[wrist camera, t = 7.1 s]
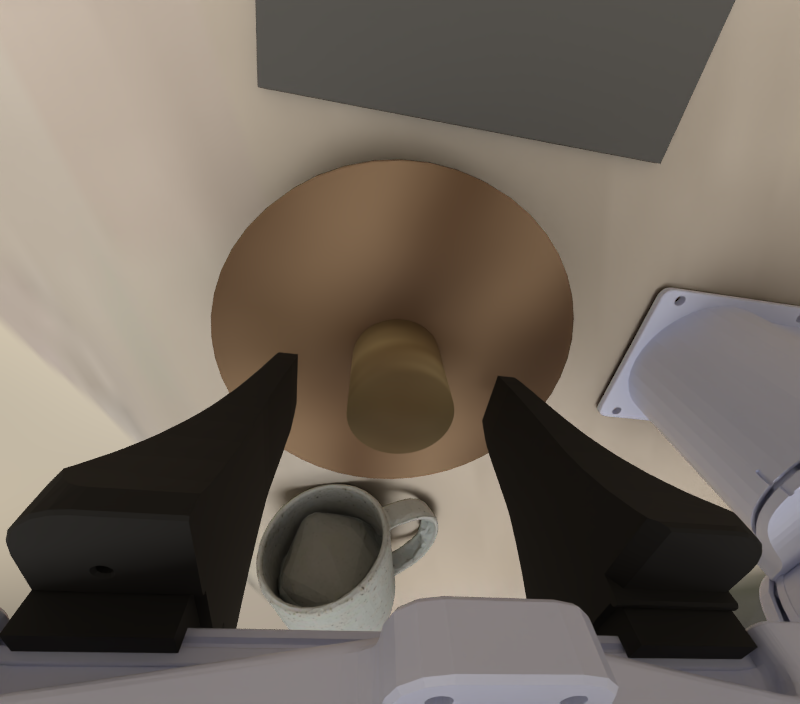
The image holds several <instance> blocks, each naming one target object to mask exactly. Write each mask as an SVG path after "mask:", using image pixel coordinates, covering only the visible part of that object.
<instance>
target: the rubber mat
mask: <svg viewBox="0 0 800 704" xmlns="http://www.w3.org/2000/svg"><path fill="white" fill-rule="evenodd" d="M734 2H735V0H256V39H257V79H258V87H260V88H265V89H271V90H276V91H281V92H286V93H292V94H297V95H302V96H307V97H313V98H318V99H323V100H328V101H334V102H339V103H344V104H349V105H355V106H360V107H365V108H370V109H376V110H381V111H386V112H391V113H396V114H402V115H407V116H412V117H417V118H423V119H428V120H433V121H438V122H444V123H449V124H454V125H459V126H465V127H470V128H475V129H480V130H486V131H491V132H496V133H501V134H507V135H512V136H517V137H522V138H528V139H533V140H538V141H543V142H548V143H554V144H559V145H564V146H569V147H575V148H580V149H585V150H590V151H596V152H601V153H606V154H611V155H617V156H622V157H627V158H632V159H638V160H643V161H648V162H653V163H660V164H661V161H662V159H663V157H664V155H665V153H666V151H667V148H668V146H669V144H670V142H671V140H672V137H673V135H674V133H675V131H676V129H677V127H678V124H679V122H680V120H681V118H682V116H683V113H684V111H685V109H686V107H687V105H688V103H689V100H690V98H691V96H692V94H693V92H694V89H695V87H696V85H697V83H698V81H699V78H700V76H701V74H702V72H703V70H704V68H705V65H706V63H707V61H708V59H709V57H710V54H711V52H712V50H713V48H714V46H715V44H716V41H717V39H718V37H719V35H720V33H721V30H722V28H723V26H724V24H725V22H726V20H727V17H728V15H729V13H730V11H731V9H732V6H733V4H734Z"/></svg>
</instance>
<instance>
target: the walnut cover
mask: <svg viewBox="0 0 800 704" xmlns="http://www.w3.org/2000/svg"><path fill="white" fill-rule="evenodd" d="M573 320H574V316H573V301H572V294H571V289H570V285H569V281H568V276H567V274H566V271H565V269H564V266H563V264H562V261H561V259H560V256H559V254H558V252H557V251H556V249H555V247H554V246H553V244H552V242H551V241H550V239H549V237H548V236H547V234H546V233H545V232H544V231H543V229H542V228H541V227H540V226H539V225H538V223H537V222H536V221H535V220H534V219H533V218H532V216H531V215H530V214H529V213H527V212H526V211H525V210H524V209H523V208H522V207H520V206H519V205H518V204H517V203H516V202H515V201H514V200H512V199H511V198H510V197H508V196H507V195H505V194H503V193H502V192H500V191H499V190H497V189H495V188H494V187H492V186H490V185H489V184H487V183H485V182H484V181H482V180H480V179H477V178H475V177H473V176H470V175H468V174H466V173H463V172H461V171H459V170H456V169H453V168H449V167H445V166H441V165H437V164H433V163H430V162H421V161H411V160H402V159H399V160H375V161H368V162H363V163H357V164H352V165H347V166H343V167H340V168H337V169H334V170H331V171H329V172H326V173H323V174H320V175H317V176H316V177H314V178H312V179H310V180H308V181H306V182H304V183H302V184H300V185H298V186H296V187H295V188H293V189H292V190H290V191H289V192H288V193H286V194H285V195H284V196H282V197H281V198H279V199H278V200H277V201H275V202H274V203H273V204H271V205H270V206H269V207H267V208H266V209H265V210H264V211H263V212H262V213H261V214H260V215H259V216H258V217H257V218H256V219H255V220H254V221H253V222H252V223H251V224H250V225H249V226H248V227H247V229H246V230H245V231H244V233H243V234H242V236H241V237H240V238H239V240H238V241H237V243H236V244H235V245H234V247H233V248H232V250H231V252H230V254H229V256H228V258H227V260H226V262H225V264H224V266H223V268H222V270H221V273H220V276H219V279H218V282H217V286H216V289H215V292H214V298H213V305H212V312H211V337H212V343H213V348H214V354H215V359H216V362H217V365H218V368H219V371H220V374H221V377H222V379H223V381H224V383H225V385H226V387H227V389H228V391H229V393H230V392H232V391H233V390H234V389H236V388H237V387H238V386H240V385H241V384H242V383H243V382H245V381H246V380H247V379H248V378H249V377H251V376H252V375H253V374H254V373H255V372H257V371H258V370H259V369H260V368H261V367H262V366H263V365H264V364H266V363H267V362H268V361H269V360H270V359H271V358H272V357H273V356H274V355H276V354H277V353H278V352H282V353H291V354H298V372H297V404H296V409H295V414H294V418H293V423H292V427H291V431H290V434H289V437H288V439H287V442H286V445H285V448H284V450H286V451H288V452H289V453H291V454H293V455H295V456H297V457H298V458H300V459H302V460H305V461H307V462H309V463H312V464H314V465H316V466H319V467H322V468H325V469H328V470H331V471H335V472H338V473H343V474H348V475H352V476H358V477H367V478H381V479H397V478H412V477H418V476H425V475H431V474H435V473H439V472H443V471H447V470H450V469H453V468H456V467H458V466H461V465H464V464H467V463H469V462H471V461H473V460H475V459H478V458H480V457H482V456H484V455H485V454H487V453H489V452H488V449H487V446H486V441H485V436H484V430H483V424H482V419H483V416H484V414H485V411H486V408H487V405H488V402H489V399H490V396H491V394H492V391H493V388H494V385H495V382H496V379H497V377H498V376H505V377H515V378H516V379H517V380H519V381H520V382H521V383H523V384H524V385H525V386H526V387H528V388H529V389H530V390H531V391H532V392H534V393H535V394H536V395H537V396H538V397H539V398H541V399H542V400H543V401H544V402H546V400H547V399H548V398H549V396H550V395H551V393H552V391H553V390H554V388H555V386H556V384H557V382H558V380H559V378H560V377H561V374H562V371H563V369H564V366H565V363H566V361H567V358H568V354H569V349H570V345H571V341H572V332H573Z"/></svg>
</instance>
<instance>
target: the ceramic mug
mask: <svg viewBox="0 0 800 704" xmlns="http://www.w3.org/2000/svg"><path fill="white" fill-rule="evenodd" d="M414 520H421V524H420V527H419V529H418V530H419V531H418V532H417V534H416V535H415V536H414V537H413V538H412V539H411V540H409V541H408V542H407V543H405V544H404V545H403V546H401V547H400V548H399V549H397V550H395V551H393V552H392V549H391V538H390V531H391V530H392V529H393V528H395V527H396V526H398V525H400V524H404V523H408V522H410V521H414ZM437 532H438V522H437V519H436V516H435V515H434V514H433V512H432V511H431V510H430V508H429V507H428V505H427V504H426V503H425V502H424V501H422V500H419V499H411V498H409V499H404V500H400V501H397V502H394V503H390V504H388V505H385V506H383V507H382V506H381V505H380V503H379V502H378V501H377V500H376V499H375V498H374V497H373V496H372V495H371V494H369V493H368V492H366V491H365V490H363V489H360V488H358V487H356V486H351V485H346V484H328V485H322V486H317V487H314V488H312V489H309V490H307V491H305V492H302V493H301V494H299V495H297V496H296V497H294V498H293V499H291V500H290V501H289V502H287V503H286V504H285V505H284V506H283V507H282V508H281V509H280V510H279V511H278V512H277V513H276V515H275V516H274V517H273V519H272V520H271V521H270V523H269V525H268V526H267V528H266V530H265V532H264V534H263V536H262V539H261V542H260V545H259V550H258V554H257V560H256V568H257V577H258V581H259V585H260V588H261V591H262V593H263V595H264V596H265V598H266V599H267V601H268V602H269V603H270V605H271V606H272V607H273V608H274V609H275V611H276V612H277V614H278V615H279V616H280V618H281V619H282V621H283V622H284V623H285V625H286V626H287V627H288V629H289V630H328V631H381V630H382V627H383V624H384V623H385V622H386V621H387V619H388V618H389V616H390V613H391V610H392V606H393V601H394V596H395V577H394V576H395V575H397V574H399V573H400V572H402V571H404V570H405V569H407V568H408V567H410V566H412V565H413V564H414V563H416V562H417V561H418V560H419V559H420V558H422V557H423V556H424V555H425V554H426V552H427V551H428V550H429V549H430V547H431V546H432V544H433V543H434V541H435V538H436V536H437Z"/></svg>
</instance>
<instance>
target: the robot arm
mask: <svg viewBox="0 0 800 704" xmlns="http://www.w3.org/2000/svg"><path fill="white" fill-rule="evenodd" d="M678 297H680V298H679V300H678V301H676V302H675V300H676V299H677V298H678ZM297 372H298V354H291V353H282V352H278V353H277V354H276V355H274V356H273V357H272V358H271V359H270V360H269V361H268V362H267V363H266V364H264V365H263V366H262V367H261V368H260V369H259V370H258V371H257V372H255V373H254V374H253V375H252V376H251V377H249V378H248V379H247V380H246V381H245V382H243V383H242V384H241V385H240V386H238V387H237V388H236V389H234V390H233V391H232V392H230V393H229V394H228V395H226V396H225V397H223V398H222V399H221V400H219V401H218V402H216V403H215V404H213V405H212V406H210V407H209V408H207V409H205V410H204V411H202V412H200V413H199V414H197V415H195V416H193V417H192V418H190V419H188V420H186V421H184V422H182V423H180V424H178V425H176V426H174V427H172V428H170V429H168V430H166V431H164V432H162V433H160V434H158V435H155V436H153V437H151V438H148V439H146V440H144V441H141V442H139V443H136V444H134V445H131V446H129V447H126V448H124V449H121V450H118V451H116V452H113V453H110V454H107V455H104V456H101V457H98V458H95V459H92V460H89V461H86V462H83V463H80V464H77V465H74V466H71V467H68V468H64V469H63V470H62V471H61V472H60V473H59V474H58V475H57V476H56V477H55V478H54V479H53V480H52V481H51V482H50V483H49V484H48V485H47V486H46V487H45V488H44V489H43V490H42V492H41V493H40V494H39V495H38V496H37V497H36V498H35V499H34V501H33V502H32V503H31V504H30V505H29V506H28V507H27V508H26V509H25V511H24V512H23V513H22V514H21V515H20V516H19V517H18V519H17V520H16V521H15V522H14V523H13V524H12V526H11V527H10V528H9V529H8V531H7V537H6V543H7V546H8V549H9V552H10V554H11V556H12V558H13V560H14V561H15V563H16V564H17V566H18V568H19V570H20V571H21V573H22V574H23V576H24V578H25V579H26V581H27V583H28V584H29V586H30V587H31V589H32V591H31V592H30V593H29V595H28V596H27V597H26V599H25V600H24V601H23V603H22V604H21V605H20V607H19V608H18V610H17V611H16V612H15V614H14V615H13V616H12V618H11V619H10V620H9V618H8V615H7V614H6V612H5V611H4V610H3V609H2V608H0V704H800V306H795V305H788V304H781V303H775V302H768V301H761V300H754V299H747V298H740V297H734V296H727V295H720V294H713V293H706V292H699V291H693V290H686V289H679V288H672V287H670V288H665V289H663V290H662V291H661V292H660V293H659V294H658V295H657V297H656V299H655V301H654V303H653V304H652V306H651V308H650V310H649V312H648V314H647V315H646V317H645V319H644V321H643V323H642V325H641V327H640V328H639V330H638V332H637V334H636V336H635V338H634V340H633V341H632V343H631V345H630V347H629V349H628V351H627V353H626V354H625V356H624V358H623V360H622V362H621V364H620V366H619V367H618V369H617V371H616V373H615V375H614V377H613V378H612V380H611V382H610V384H609V386H608V388H607V390H606V391H605V393H604V395H603V397H602V399H601V401H600V403H599V404H598V407H597V409H598V411H599V413H600V414H601V415H603V416H610V417H620V418H630V419H640V420H650V421H651V422H652V423H653V424H654V426H655V427H656V428H657V429H658V430H659V431H660V432H661V433H662V434H663V435H664V436H665V438H666V439H667V440H668V441H669V442H670V443H671V444H672V445H673V446H674V447H675V448H676V450H677V451H678V452H679V453H680V454H681V455H682V456H683V457H684V458H685V459H686V461H687V462H688V463H689V464H690V465H691V466H692V467H693V468H694V469H695V470H696V471H697V473H698V474H699V475H700V476H701V477H702V478H703V479H704V480H705V481H706V482H707V484H708V485H709V486H710V487H711V488H712V489H713V490H714V491H715V492H716V493H717V494H718V496H719V497H720V498H721V499H722V500H723V501H724V502H725V503H726V504H727V505H728V506H729V508H730V509H731V510H732V511H733V512H732V511H729V510H727V509H724V508H722V507H720V506H717V505H715V504H712V503H710V502H708V501H705V500H703V499H701V498H698V497H696V496H693V495H691V494H689V493H687V492H684V491H682V490H680V489H678V488H676V487H674V486H672V485H670V484H668V483H666V482H664V481H662V480H660V479H658V478H656V477H654V476H652V475H650V474H648V473H646V472H644V471H643V470H641V469H639V468H637V467H636V466H634V465H632V464H630V463H629V462H627V461H625V460H623V459H622V458H620V457H618V456H617V455H615V454H613V453H612V452H610V451H609V450H607V449H606V448H604V447H603V446H601V445H600V444H598V443H597V442H595V441H594V440H592V439H591V438H589V437H588V436H587V435H585V434H584V433H583V432H581V431H580V430H579V429H577V428H576V427H575V426H573V425H572V424H571V423H569V422H568V421H567V420H566V419H564V418H563V417H562V416H561V415H559V414H558V413H557V412H556V411H555V410H553V409H552V408H551V407H550V406H549V405H548V404H546V403H545V402H544V401H543V400H542V399H541V398H539V397H538V396H537V395H536V394H535V393H534V392H532V391H531V390H530V389H529V388H528V387H526V386H525V385H524V384H523V383H521V382H520V381H519V380H517V379H516V378H515V377H505V376H498V377H497V379H496V382H495V385H494V388H493V391H492V394H491V396H490V399H489V402H488V405H487V408H486V411H485V414H484V416H483V419H482V424H483V430H484V436H485V441H486V446H487V449H488V452H489V455H490V458H491V461H492V464H493V467H494V470H495V473H496V476H497V479H498V481H499V484H500V487H501V490H502V493H503V496H504V499H505V502H506V505H507V508H508V511H509V515H510V519H511V523H512V527H513V532H514V536H515V541H516V545H517V550H518V555H519V560H520V565H521V570H522V575H523V581H524V587H525V593H526V599H517V598H485V597H452V596H440V597H431V598H422V599H417V600H414V601H412V602H410V603H407V604H405V605H402V606H400V607H398V608H397V609H396V610H395V611H394V612H393V613H392V615H391V616H390V617H389V618H388V619H387V621H386V622H385V623H384V624H383V627H382V630H381V631H328V630H275V629H274V630H273V629H236V627H237V622H238V618H239V612H240V608H241V603H242V599H243V595H244V590H245V586H246V581H247V577H248V572H249V568H250V564H251V559H252V555H253V551H254V547H255V543H256V538H257V534H258V530H259V526H260V522H261V518H262V514H263V510H264V506H265V502H266V499H267V496H268V492H269V489H270V486H271V484H272V481H273V478H274V475H275V473H276V470H277V467H278V464H279V462H280V459H281V456H282V453H283V451H284V448H285V445H286V442H287V439H288V437H289V434H290V431H291V427H292V423H293V418H294V414H295V409H296V404H297ZM616 407H617V408H616ZM614 408H616V409H614ZM613 409H614V410H613ZM756 564H758V566H759V567H760V568H761V569H762V570H763V571H764V573H765V574H766V576H765V577H764V579H763V580H762V582H761V585H760V589H759V591H760V601H761V605H762V609H763V612H764V614H765V617H766V619H767V621H766V622H759V623H756V624H753V625H752V626H750V627H748V628H747V629H745V628H744V627H743V626H742V624H741V623H740V621H739V620H738V619H737V617H736V616H735V615H734V613H733V612H732V611H735V610H737V609H738V603H737V602H736V601H735V599H734V598H733V597H732V595H731V594H730V593H729V590H730V589H731V588H732V587H733V586H734V585H735V584H737V583H738V582H739V581H740V580H741V579H742V578H743V577H744V576H745V575H747V574H748V573H749V572H750V571H751V570H752V569H753V568H754V567H755V566H756Z"/></svg>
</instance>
